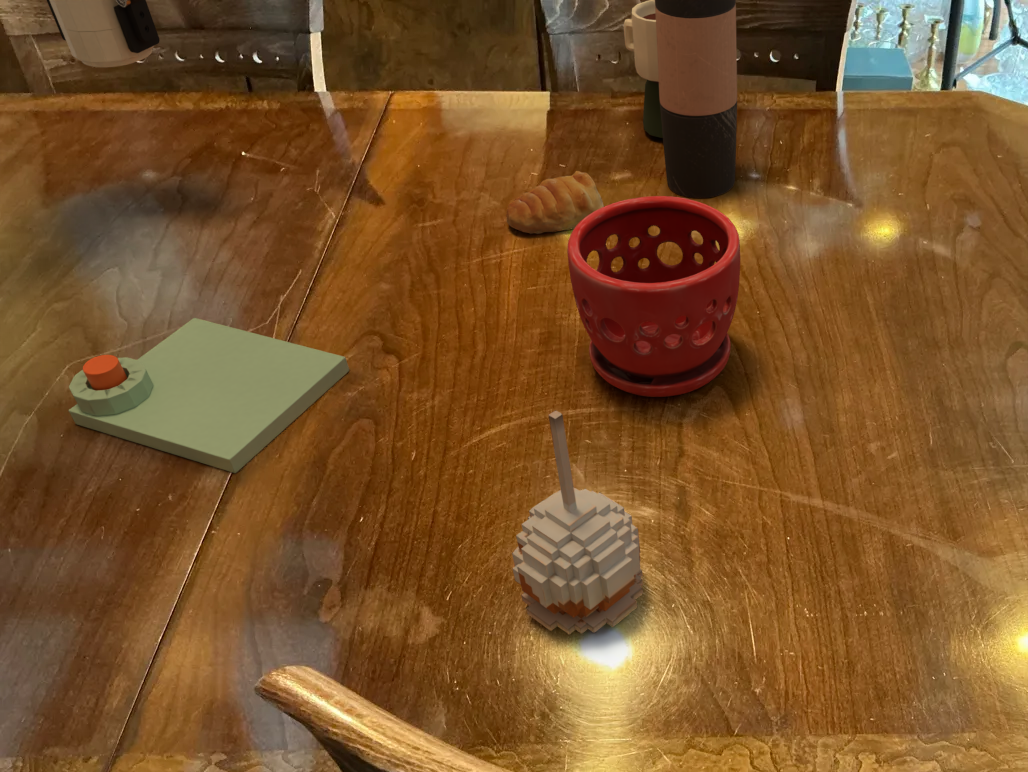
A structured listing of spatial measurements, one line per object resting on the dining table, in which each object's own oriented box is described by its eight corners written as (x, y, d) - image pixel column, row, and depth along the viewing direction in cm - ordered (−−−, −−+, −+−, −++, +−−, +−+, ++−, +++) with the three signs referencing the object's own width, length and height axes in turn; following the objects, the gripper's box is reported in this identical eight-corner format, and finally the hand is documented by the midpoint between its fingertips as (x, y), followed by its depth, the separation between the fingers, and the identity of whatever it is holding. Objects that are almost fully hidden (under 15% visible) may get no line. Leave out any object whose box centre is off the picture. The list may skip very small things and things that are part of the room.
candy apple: (586, 535, 75) (559, 357, 64) (667, 588, 71) (652, 409, 61) (500, 599, 71) (457, 420, 60) (582, 658, 67) (550, 479, 57)
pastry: (524, 247, 103) (518, 210, 101) (496, 218, 107) (490, 182, 105) (611, 220, 107) (607, 184, 104) (581, 193, 111) (576, 158, 108)
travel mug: (706, 158, 116) (700, -44, 102) (752, 183, 112) (753, -24, 97) (649, 180, 112) (635, -26, 98) (695, 207, 108) (687, -5, 94)
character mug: (729, 130, 121) (727, 7, 112) (694, 154, 117) (689, 29, 107) (649, 109, 125) (642, -10, 116) (613, 132, 121) (602, 10, 112)
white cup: (57, 63, 99) (28, -7, 95) (116, 36, 104) (90, -31, 100) (117, 74, 97) (90, 3, 93) (174, 46, 102) (151, -22, 98)
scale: (68, 422, 85) (51, 391, 83) (193, 329, 94) (180, 299, 92) (235, 473, 80) (221, 442, 78) (350, 370, 89) (340, 340, 87)
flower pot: (551, 362, 90) (531, 231, 81) (675, 305, 96) (668, 177, 87) (646, 437, 82) (635, 302, 74) (773, 370, 88) (776, 238, 80)
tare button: (84, 388, 84) (74, 369, 83) (109, 369, 86) (100, 351, 84) (109, 395, 83) (100, 377, 82) (134, 376, 85) (125, 358, 84)
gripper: (141, -186, 88) (214, 41, 100) (-16, -201, 92) (72, 17, 105) (70, -166, 83) (155, 69, 95) (-92, -183, 87) (9, 43, 100)
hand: (111, 40), depth 100 cm, fingers closed on white cup, 7 cm apart
